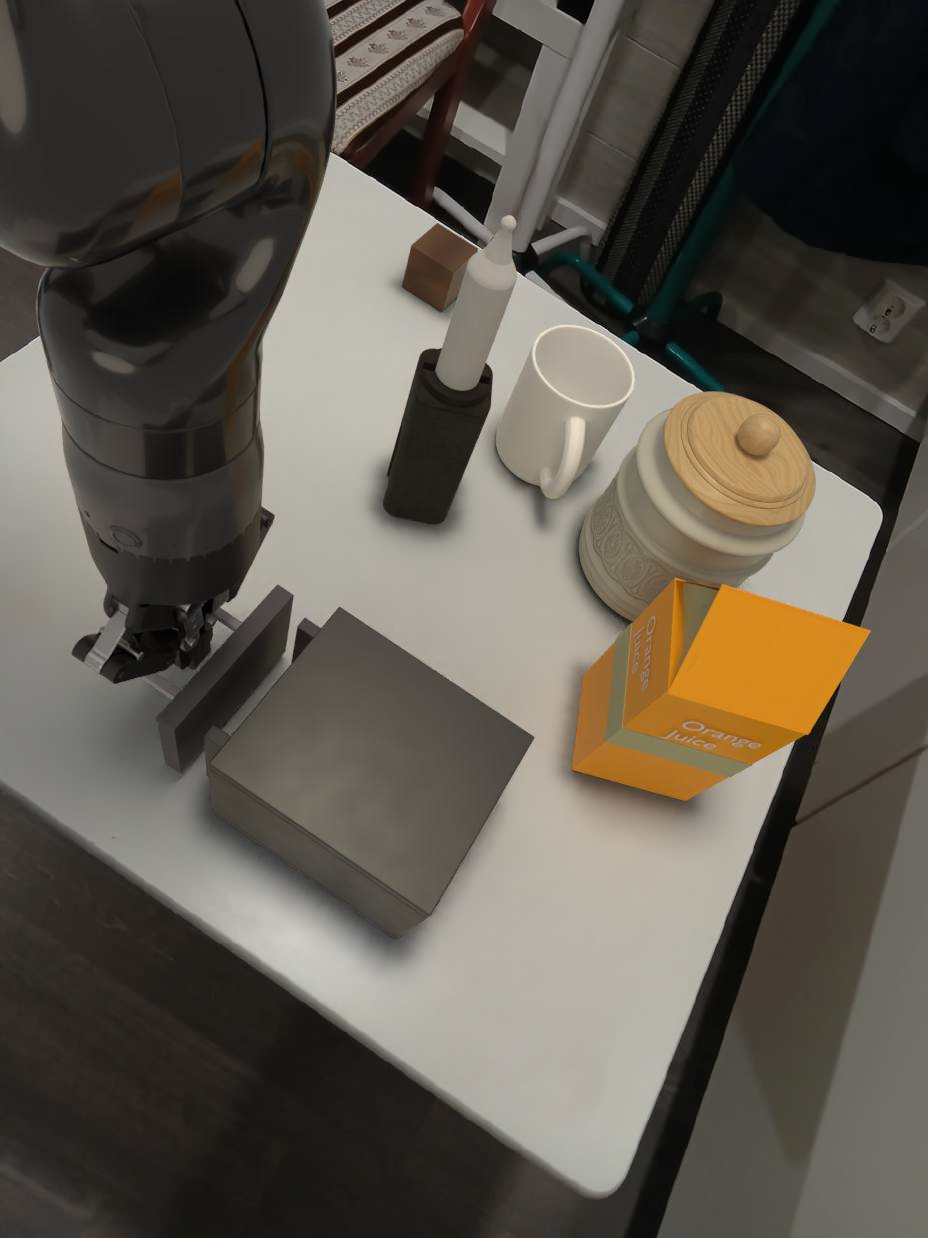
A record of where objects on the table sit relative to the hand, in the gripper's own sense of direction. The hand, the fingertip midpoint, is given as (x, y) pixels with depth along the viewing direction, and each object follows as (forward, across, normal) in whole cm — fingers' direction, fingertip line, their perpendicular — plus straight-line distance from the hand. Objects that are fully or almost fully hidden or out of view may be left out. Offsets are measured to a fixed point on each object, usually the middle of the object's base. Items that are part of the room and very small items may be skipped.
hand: (188, 653), depth 49 cm
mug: (+5, -32, +10) cm, 34 cm away
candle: (+5, -23, +3) cm, 23 cm away
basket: (+4, 0, +6) cm, 7 cm away
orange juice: (+5, -15, +27) cm, 31 cm away
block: (+5, -44, -8) cm, 45 cm away
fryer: (+5, 0, +13) cm, 14 cm away
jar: (+5, -30, +22) cm, 37 cm away
